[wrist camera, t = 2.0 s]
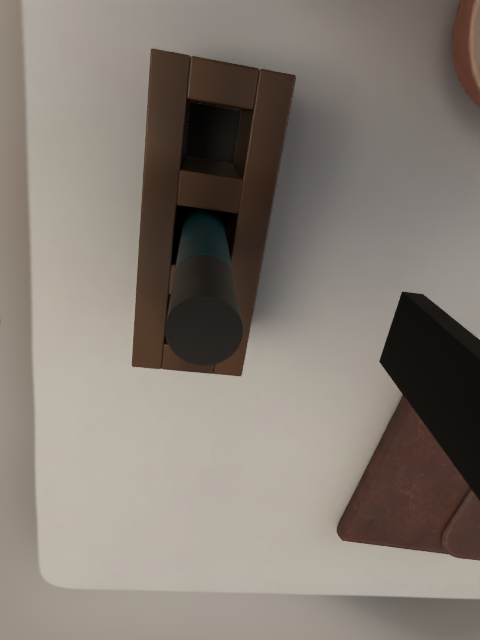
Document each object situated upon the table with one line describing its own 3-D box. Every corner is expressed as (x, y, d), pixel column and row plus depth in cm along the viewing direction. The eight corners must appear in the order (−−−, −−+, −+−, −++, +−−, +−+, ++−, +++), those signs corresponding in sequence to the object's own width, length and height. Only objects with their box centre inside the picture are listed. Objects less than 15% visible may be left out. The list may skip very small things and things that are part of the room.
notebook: (334, 525, 41) (340, 544, 39) (425, 342, 33) (438, 355, 31) (474, 543, 43) (486, 562, 42) (589, 378, 36) (609, 393, 34)
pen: (179, 203, 27) (149, 320, 12) (209, 185, 27) (219, 282, 12) (197, 234, 28) (191, 379, 13) (227, 217, 28) (257, 344, 13)
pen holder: (146, 314, 30) (131, 367, 24) (164, 65, 24) (150, 47, 18) (233, 323, 31) (241, 377, 25) (272, 84, 25) (296, 75, 19)
